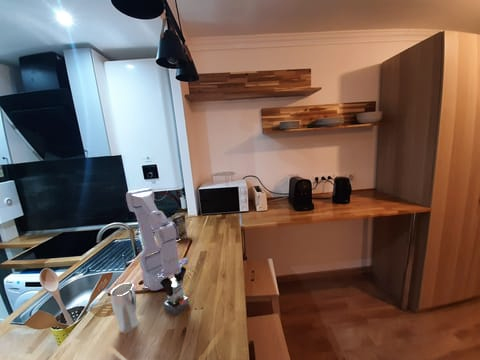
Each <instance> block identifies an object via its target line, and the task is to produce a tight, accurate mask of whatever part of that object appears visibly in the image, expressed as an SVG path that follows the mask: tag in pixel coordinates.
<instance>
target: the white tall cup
mask: <svg viewBox="0 0 480 360" xmlns="http://www.w3.org/2000/svg"><path fill="white" fill-rule="evenodd" d="M135 291H136V290H135V288H134V284H133V283H131V282H123V283H121V284H118V285H117V286H115V287H114V288H112V290H111V291H110V301H111V307H112V311H113V314H114V315H115V318H116V319H117V321H118V331H119V333H121V334H127V333H130V332H132V331H133V330H135V329H136V327H137V326H138V325H139V319H138V316H137V295H136V292H135Z"/></svg>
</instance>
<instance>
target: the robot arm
mask: <svg viewBox="0 0 480 360" xmlns="http://www.w3.org/2000/svg"><path fill="white" fill-rule="evenodd" d="M125 197H126V199H125V200H126V203H127V208H128V210H129V212H132V213H134V214H135V217H136V220H137V224H138V227H139V231H140V236H141V240H142V243H143V250H142V251H141V252H140V254H139V266H140V269H141V271H142V273H141V275H142V282H143V285H144V286H146V287H148V288H147V289H149V290H150V291H158V290H161V289H162V288H163V289H164V290H165V293H166V296H167V295H168V296H172V281H173V280H171V279H170V277H172V276H174V278H177V279H179V280H181V281H182V283H184V282H183V281H184V277H185V274H186V272H187V268H186V267H184V266H185V265H188V264H189V258H187V257H183V258H181V259H179V252H178V244H177V243H178V242H176V238H178V229H177V227H176V225H175V223H173V222H171V221H168V217H167V216H166V214H165V213H164V212H163V211H162V210H159V209H158V208H157V205H156V203H155V192H154V190H153V188H152V187H147V188H141V189H136V190H131V191H127V192H126V193H125ZM155 239H156V240H155ZM144 286H143V287H144Z"/></svg>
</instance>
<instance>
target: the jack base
mask: <svg viewBox="0 0 480 360" xmlns="http://www.w3.org/2000/svg"><path fill="white" fill-rule="evenodd" d="M183 296H184V297H183V298H182V299H181V300H180V301H179V302H178V304H177V305H176V306H174V304H173V303H171V302H169V301H168V299H167V300H166V301H164V302H163V307H164V311H165V312H167V313H169V314H171V315H172V316H174V317H177V316H178V315H179V314H181V313H182V312H183V311H184V309H186V308H187V307H188V306H190V302H189V297H188V296H186V295H185V294H184V295H183Z"/></svg>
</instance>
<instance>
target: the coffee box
mask: <svg viewBox="0 0 480 360" xmlns="http://www.w3.org/2000/svg"><path fill="white" fill-rule="evenodd" d="M167 219H168V221H171V222H173V223H175V225H176V227H177V229H178V238H176V240H179V239H182V238H185V237H187V238H188V232H187V231H188V230H187V224H186V216H185V214H181V213H178V214H174V215H173V216H170V217H167ZM185 239H186V238H185Z"/></svg>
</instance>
